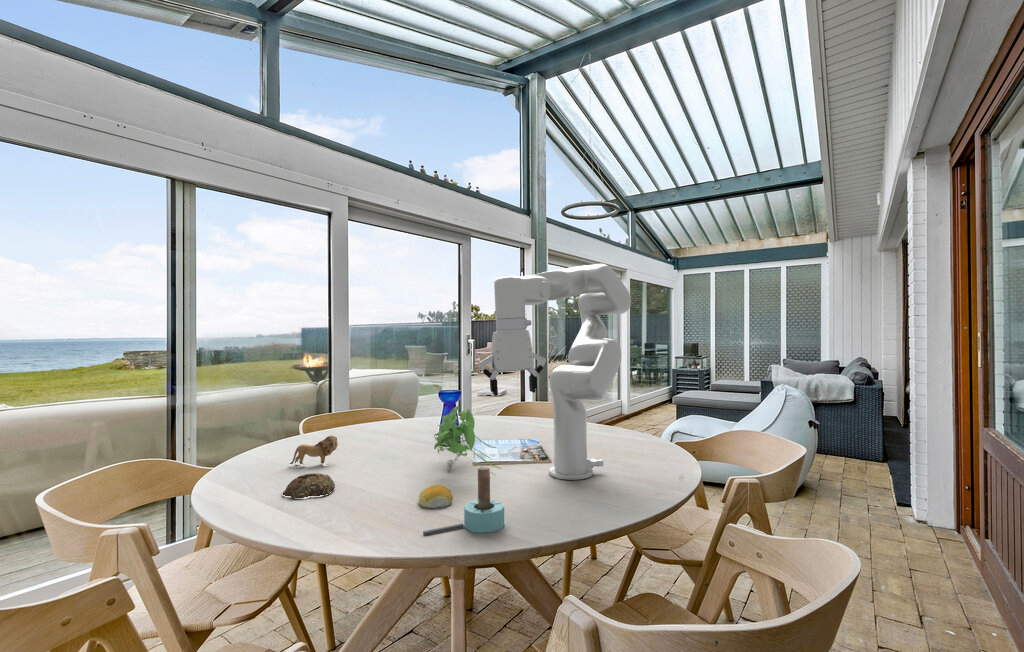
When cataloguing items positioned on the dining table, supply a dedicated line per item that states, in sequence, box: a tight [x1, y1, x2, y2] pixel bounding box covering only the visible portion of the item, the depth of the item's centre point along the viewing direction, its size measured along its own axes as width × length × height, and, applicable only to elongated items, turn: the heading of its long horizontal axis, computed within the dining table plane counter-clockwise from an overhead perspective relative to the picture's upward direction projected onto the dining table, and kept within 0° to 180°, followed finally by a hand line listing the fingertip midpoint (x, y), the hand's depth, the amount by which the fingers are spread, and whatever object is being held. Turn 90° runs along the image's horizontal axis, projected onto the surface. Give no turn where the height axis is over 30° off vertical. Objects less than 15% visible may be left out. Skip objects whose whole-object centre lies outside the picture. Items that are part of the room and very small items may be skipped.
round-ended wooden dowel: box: [477, 466, 491, 510], centre depth 105 cm, size 3×3×12 cm
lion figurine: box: [289, 435, 339, 465], centre depth 155 cm, size 15×5×9 cm, turn 108°
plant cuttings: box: [433, 405, 502, 476], centre depth 149 cm, size 35×17×22 cm
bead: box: [463, 499, 505, 534], centre depth 105 cm, size 8×8×4 cm
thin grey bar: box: [422, 523, 465, 536], centre depth 102 cm, size 9×1×1 cm, turn 117°
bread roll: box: [418, 484, 454, 509], centre depth 120 cm, size 8×9×4 cm
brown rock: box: [282, 472, 335, 499], centre depth 129 cm, size 13×12×5 cm
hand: (514, 393), depth 123 cm, fingers open, 9 cm apart
